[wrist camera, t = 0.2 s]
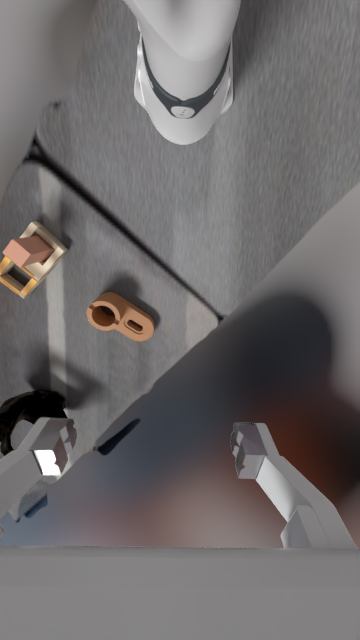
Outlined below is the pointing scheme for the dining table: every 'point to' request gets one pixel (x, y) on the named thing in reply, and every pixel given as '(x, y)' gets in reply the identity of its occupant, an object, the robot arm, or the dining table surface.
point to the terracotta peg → (28, 250)
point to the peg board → (37, 269)
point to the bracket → (120, 317)
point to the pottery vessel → (28, 412)
